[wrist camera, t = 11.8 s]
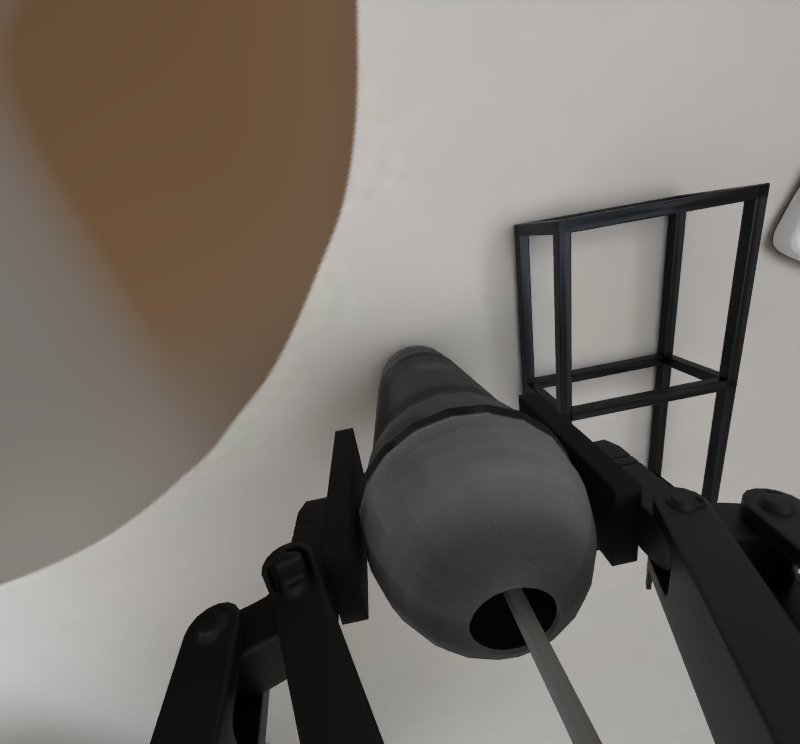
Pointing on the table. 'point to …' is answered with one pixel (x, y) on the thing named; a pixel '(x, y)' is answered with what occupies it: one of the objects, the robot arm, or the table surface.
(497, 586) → the beverage cup
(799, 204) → the calculator
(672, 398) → the rack
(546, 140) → the table surface
